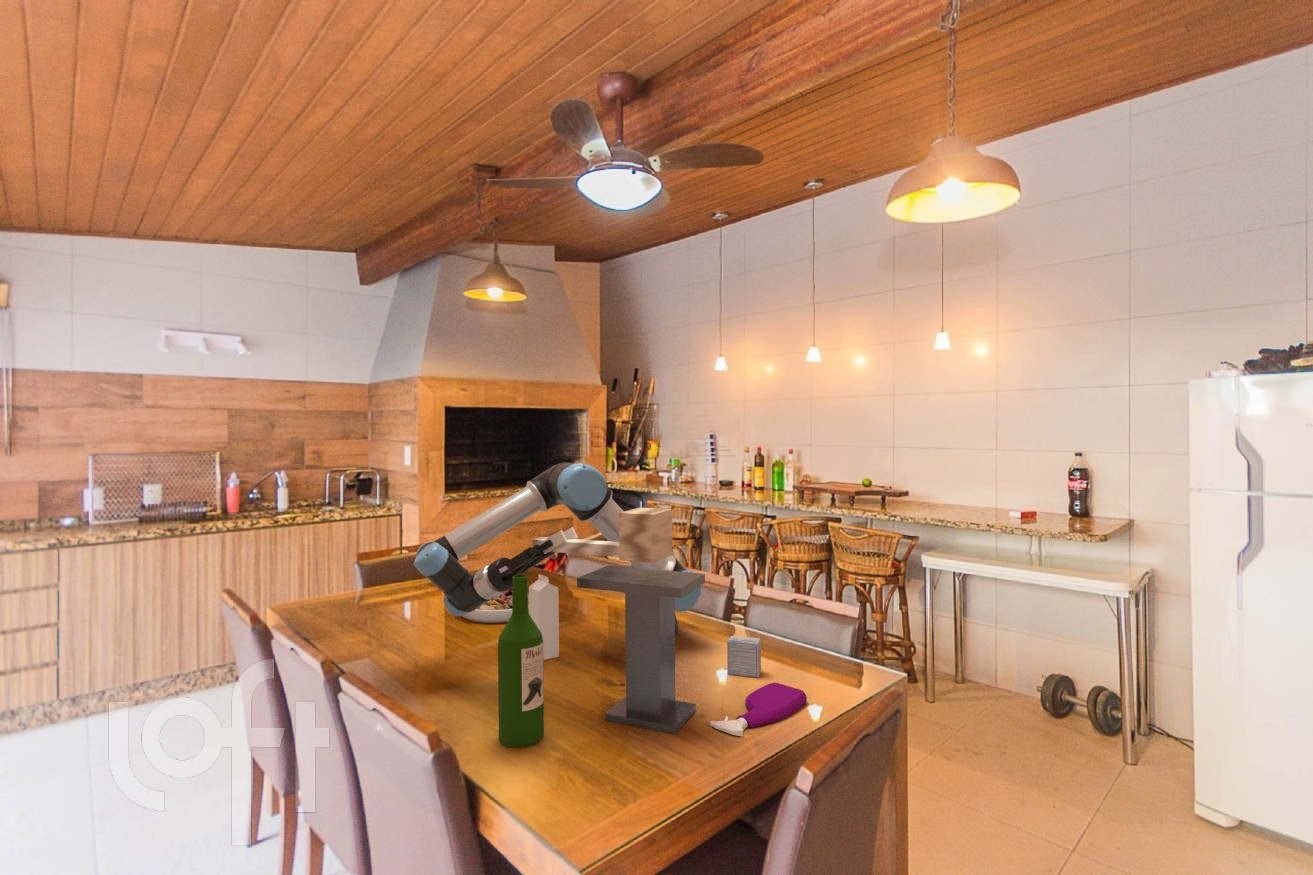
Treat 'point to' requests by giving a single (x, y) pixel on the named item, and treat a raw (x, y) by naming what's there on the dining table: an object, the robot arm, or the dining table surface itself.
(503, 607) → the bowl
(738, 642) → the medicine box
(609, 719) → the stand
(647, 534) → the wooden l-shaped block
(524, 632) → the wine bottle
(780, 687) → the spray bottle
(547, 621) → the milk
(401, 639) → the dining table surface
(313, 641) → the dining table surface
